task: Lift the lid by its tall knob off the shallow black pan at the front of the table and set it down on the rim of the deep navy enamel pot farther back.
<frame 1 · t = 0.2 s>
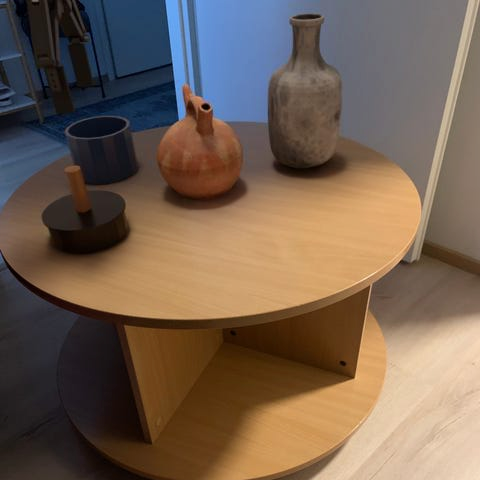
hand: (76, 98, 82), 25 cm above the table, tool pointing down, fingers open, 13 cm apart
lid: (84, 211, 96), point 5 cm above the table, touching pan
pan: (91, 234, 99), on the table
jug: (203, 189, 111), on the table
vase: (302, 164, 118), on the table
pot: (107, 170, 121), on the table
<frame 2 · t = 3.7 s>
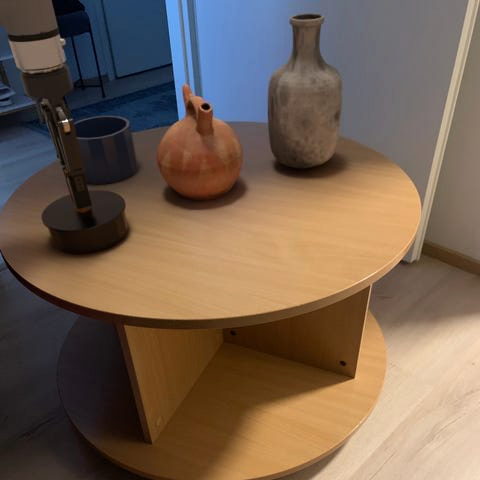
hand: (81, 202, 94), 7 cm above the table, tool pointing down, fingers closed on lid, 3 cm apart
lid: (84, 211, 96), point 5 cm above the table, touching gripper
everything else where it was.
when the fingers open (12 cm above the table, at t = 9.7 s): lid stays where it is, resting on pot.
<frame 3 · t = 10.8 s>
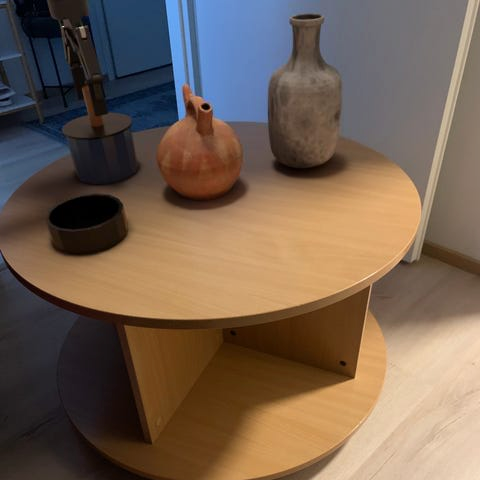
hand: (92, 106, 111), 15 cm above the table, tool pointing down, fingers open, 13 cm apart
lid: (97, 126, 114), point 10 cm above the table, touching pot
everything else where it was.
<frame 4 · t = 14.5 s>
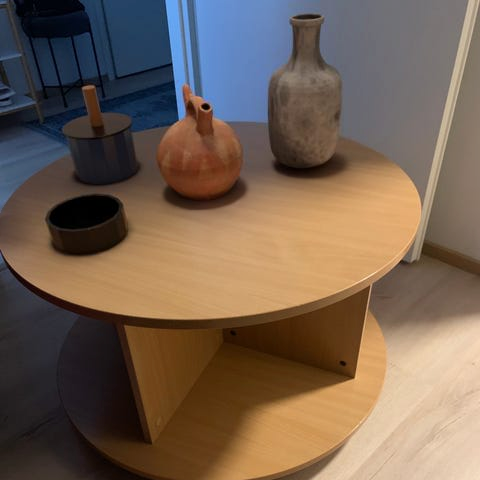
nothing on the table moved.
at the end: lid 0.1 cm off-centre on the pot, point 10.5 cm above the pot's base; lid tilted 0°; the gripper is holding nothing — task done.
